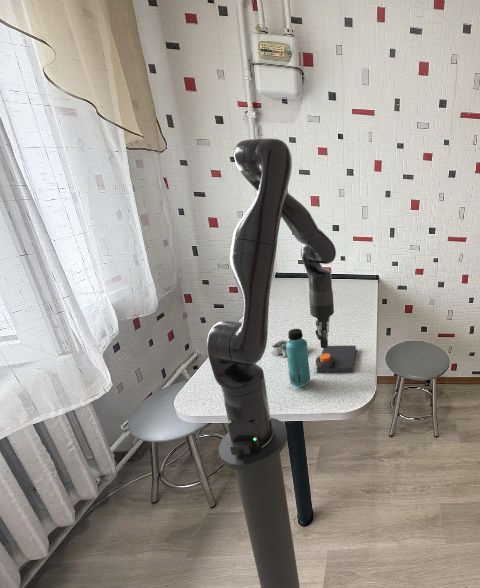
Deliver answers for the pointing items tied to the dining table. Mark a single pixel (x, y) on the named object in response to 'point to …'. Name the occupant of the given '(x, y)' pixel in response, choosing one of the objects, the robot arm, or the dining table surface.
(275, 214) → the robot arm
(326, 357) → the button
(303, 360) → the beverage bottle
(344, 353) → the scale
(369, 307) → the dining table surface
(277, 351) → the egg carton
